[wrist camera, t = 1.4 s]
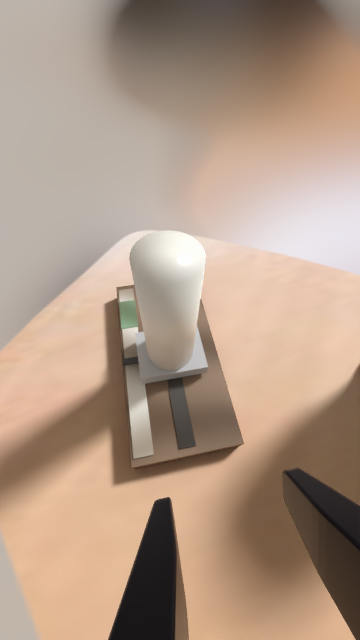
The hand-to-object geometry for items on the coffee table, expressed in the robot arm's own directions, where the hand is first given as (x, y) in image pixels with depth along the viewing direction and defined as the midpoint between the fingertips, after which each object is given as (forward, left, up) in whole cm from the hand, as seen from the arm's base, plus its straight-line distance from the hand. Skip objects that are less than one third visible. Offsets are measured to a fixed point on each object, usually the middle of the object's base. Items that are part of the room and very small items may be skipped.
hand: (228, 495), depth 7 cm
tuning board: (+10, +1, -14) cm, 17 cm away
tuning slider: (+10, +1, -12) cm, 15 cm away
